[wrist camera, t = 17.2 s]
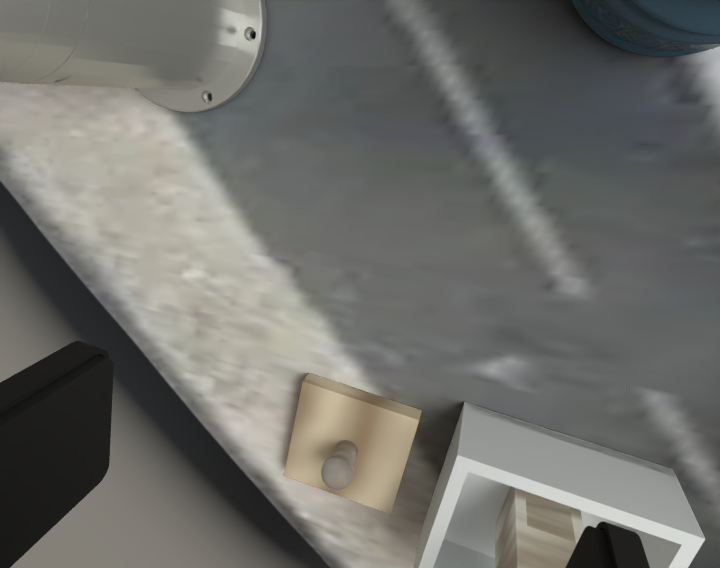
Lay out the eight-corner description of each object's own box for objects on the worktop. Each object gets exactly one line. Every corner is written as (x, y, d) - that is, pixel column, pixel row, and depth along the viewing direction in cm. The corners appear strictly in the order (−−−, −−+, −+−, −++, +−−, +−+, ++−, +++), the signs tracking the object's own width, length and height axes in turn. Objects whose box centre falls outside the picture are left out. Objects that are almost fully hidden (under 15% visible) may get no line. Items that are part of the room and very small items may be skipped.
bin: (420, 531, 48) (408, 597, 41) (464, 401, 42) (457, 454, 36) (602, 597, 45) (619, 680, 39) (672, 468, 40) (705, 539, 34)
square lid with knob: (290, 464, 49) (263, 509, 44) (308, 373, 45) (282, 408, 40) (393, 502, 47) (380, 553, 42) (422, 410, 44) (410, 453, 38)
